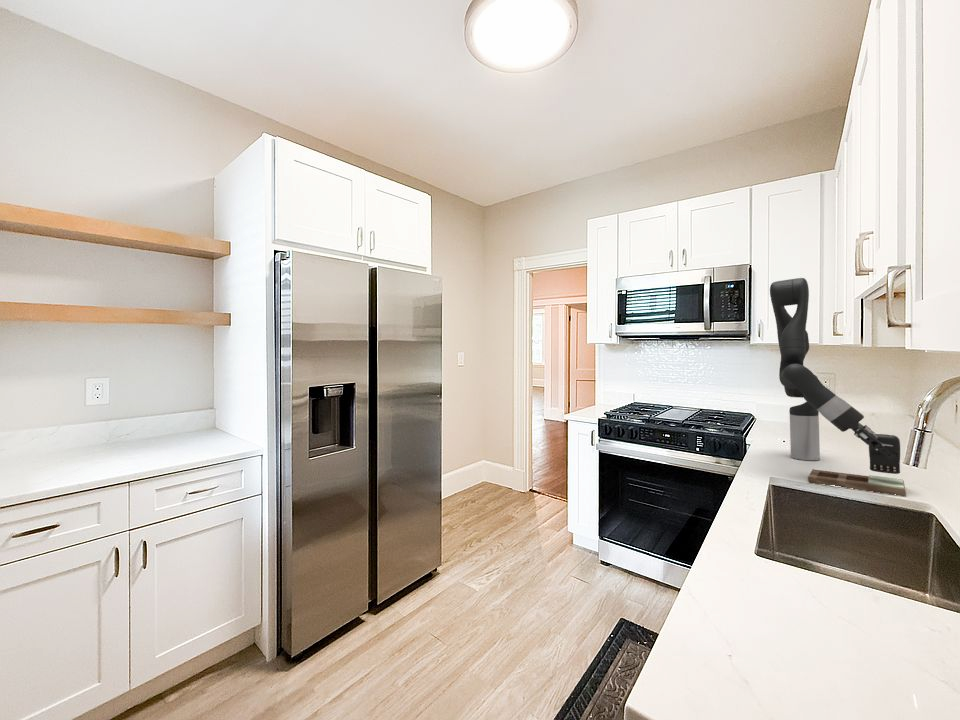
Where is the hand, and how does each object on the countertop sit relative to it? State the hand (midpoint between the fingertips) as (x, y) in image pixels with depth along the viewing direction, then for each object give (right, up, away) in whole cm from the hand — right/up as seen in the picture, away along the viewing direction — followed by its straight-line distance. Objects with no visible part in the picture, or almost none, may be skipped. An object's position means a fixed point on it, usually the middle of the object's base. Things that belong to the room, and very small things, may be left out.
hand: (893, 456), depth 127 cm
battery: (-1, -5, +1) cm, 6 cm away
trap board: (-6, -10, +6) cm, 13 cm away
